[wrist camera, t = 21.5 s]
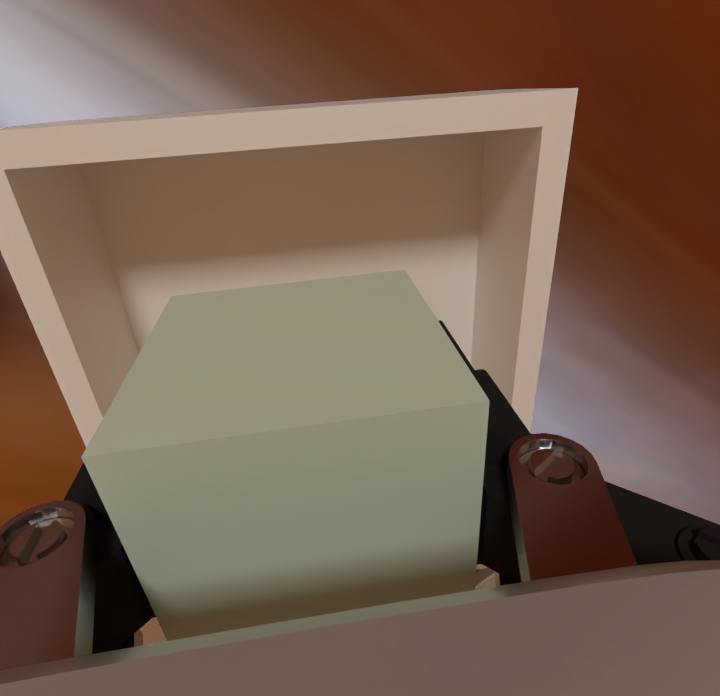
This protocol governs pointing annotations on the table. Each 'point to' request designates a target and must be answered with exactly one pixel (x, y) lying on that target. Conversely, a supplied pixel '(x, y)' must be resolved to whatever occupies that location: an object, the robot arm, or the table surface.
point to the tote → (288, 220)
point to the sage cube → (294, 454)
